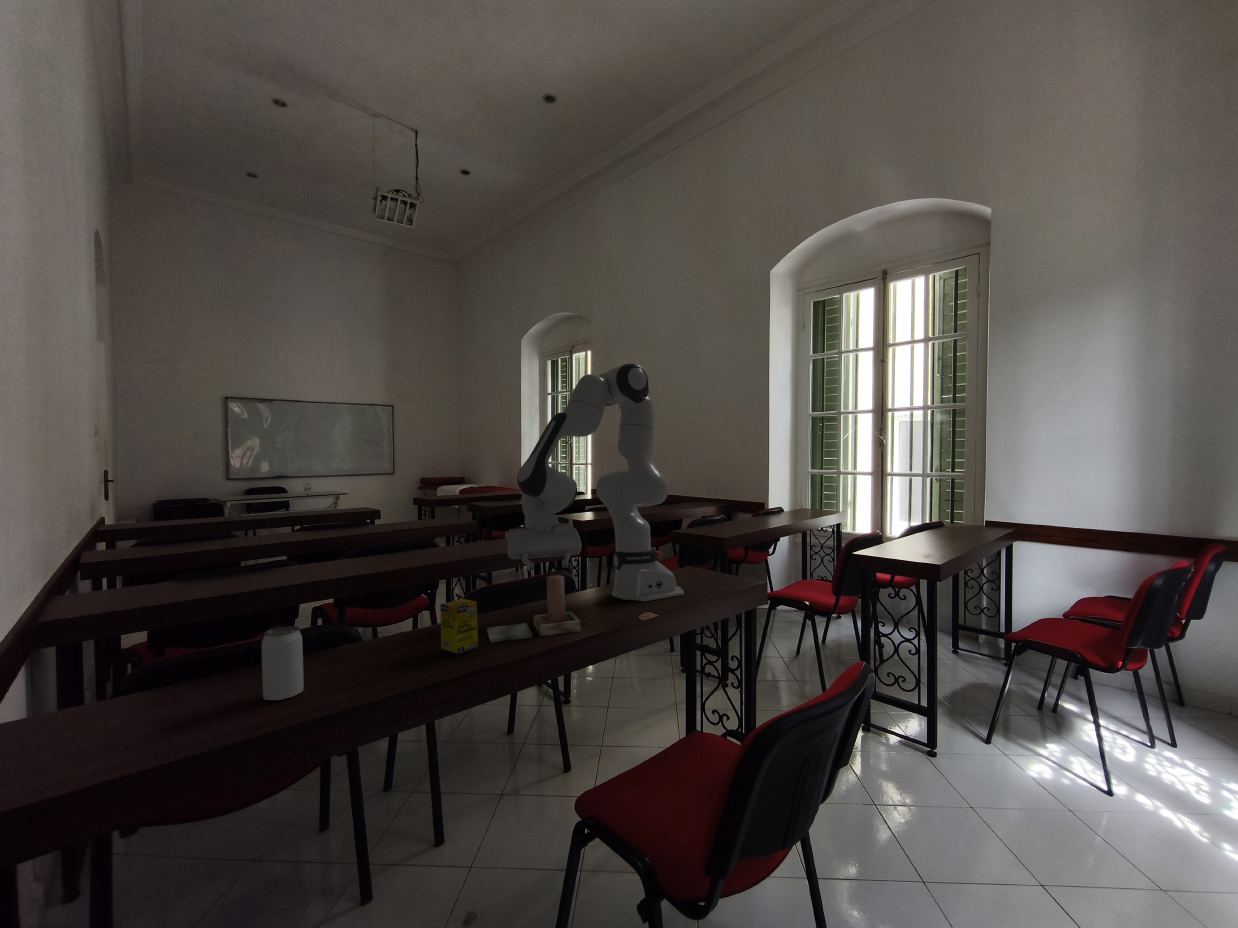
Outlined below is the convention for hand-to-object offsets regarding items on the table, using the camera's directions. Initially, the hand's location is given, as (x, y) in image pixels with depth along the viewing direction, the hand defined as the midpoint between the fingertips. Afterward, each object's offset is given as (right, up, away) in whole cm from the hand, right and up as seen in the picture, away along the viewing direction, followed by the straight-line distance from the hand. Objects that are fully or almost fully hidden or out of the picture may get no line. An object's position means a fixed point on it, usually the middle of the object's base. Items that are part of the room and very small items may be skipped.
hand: (548, 567), depth 147 cm
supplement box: (-17, -15, -22) cm, 32 cm away
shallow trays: (-3, -14, -9) cm, 17 cm away
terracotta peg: (+3, -14, -7) cm, 16 cm away
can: (-44, -15, -45) cm, 64 cm away
